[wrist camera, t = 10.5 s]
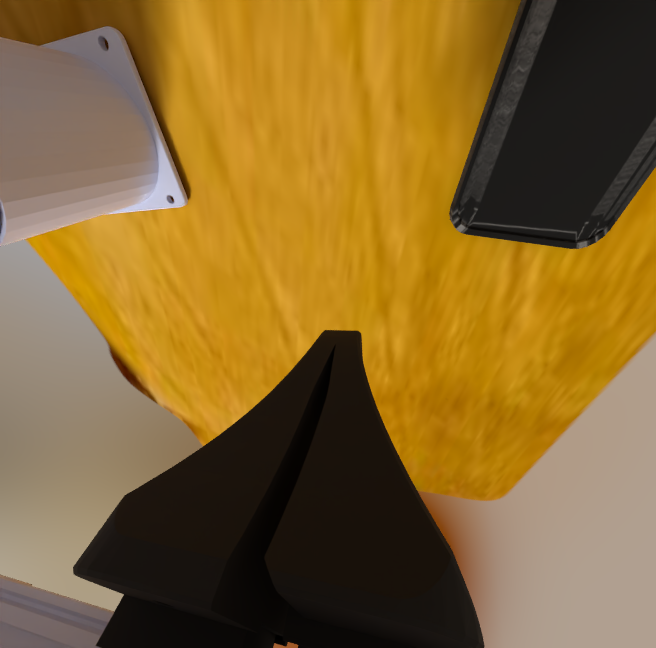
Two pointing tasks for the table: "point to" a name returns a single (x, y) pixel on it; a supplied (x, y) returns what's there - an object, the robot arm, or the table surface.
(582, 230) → the phone
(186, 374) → the table surface
